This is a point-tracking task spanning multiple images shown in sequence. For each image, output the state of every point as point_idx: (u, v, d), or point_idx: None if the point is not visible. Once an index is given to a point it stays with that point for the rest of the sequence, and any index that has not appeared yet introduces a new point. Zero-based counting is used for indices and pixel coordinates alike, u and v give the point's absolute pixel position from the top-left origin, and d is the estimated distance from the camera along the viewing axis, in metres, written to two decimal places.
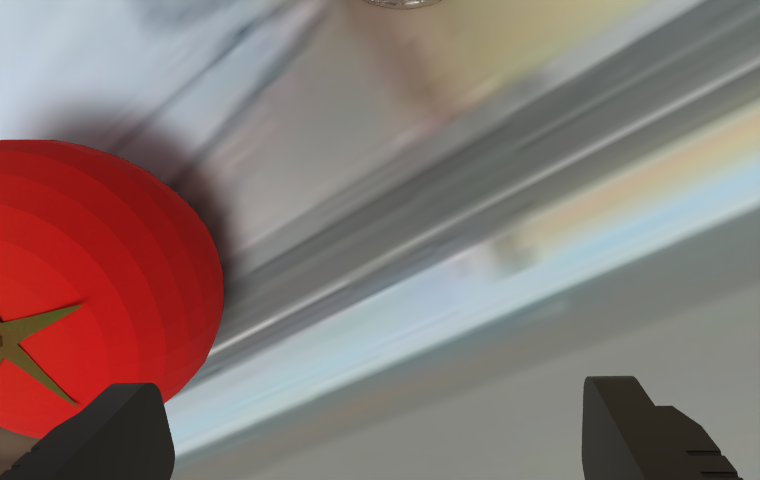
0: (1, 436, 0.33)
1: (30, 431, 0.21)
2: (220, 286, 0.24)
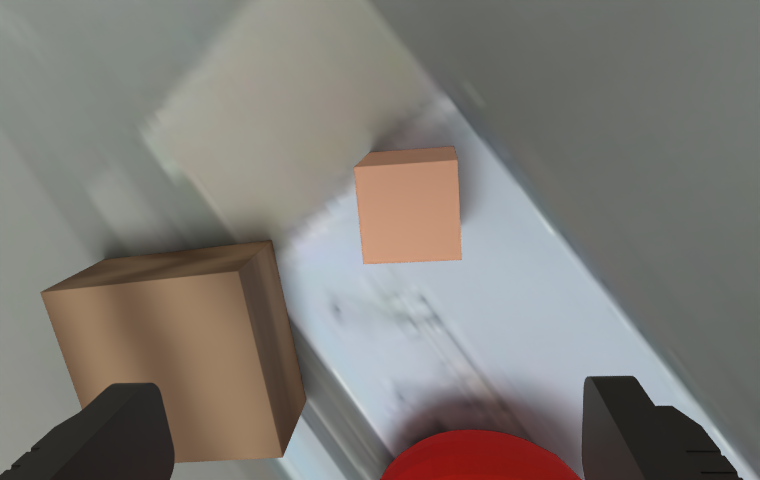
0: (286, 333, 0.33)
1: None
2: None
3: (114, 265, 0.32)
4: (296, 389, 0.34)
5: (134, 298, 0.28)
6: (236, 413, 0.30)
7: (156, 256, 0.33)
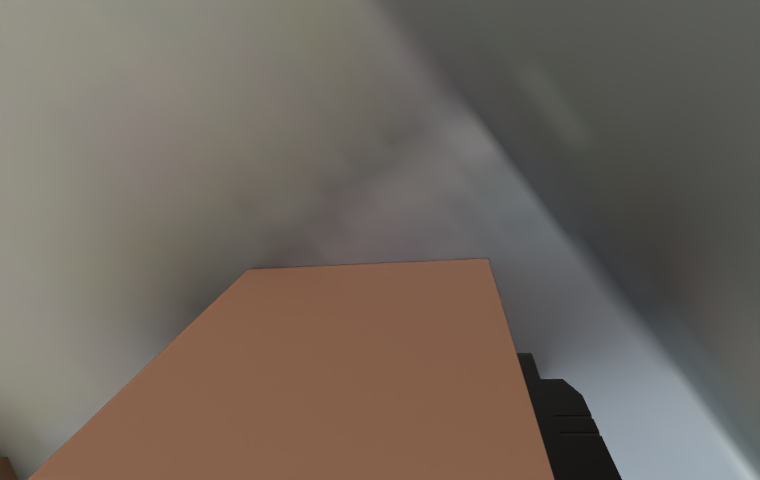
0: None
1: None
2: None
3: None
4: None
5: None
6: None
7: None
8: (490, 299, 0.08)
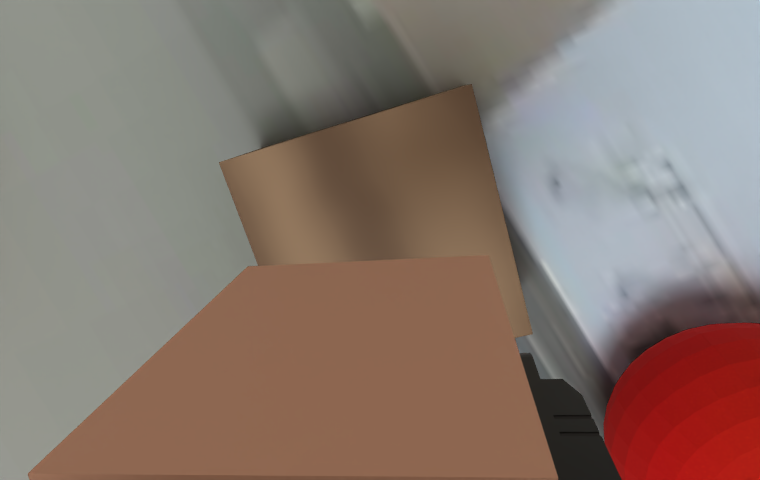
0: None
1: None
2: None
3: (283, 142, 0.27)
4: None
5: (337, 148, 0.23)
6: None
7: None
8: (491, 295, 0.08)
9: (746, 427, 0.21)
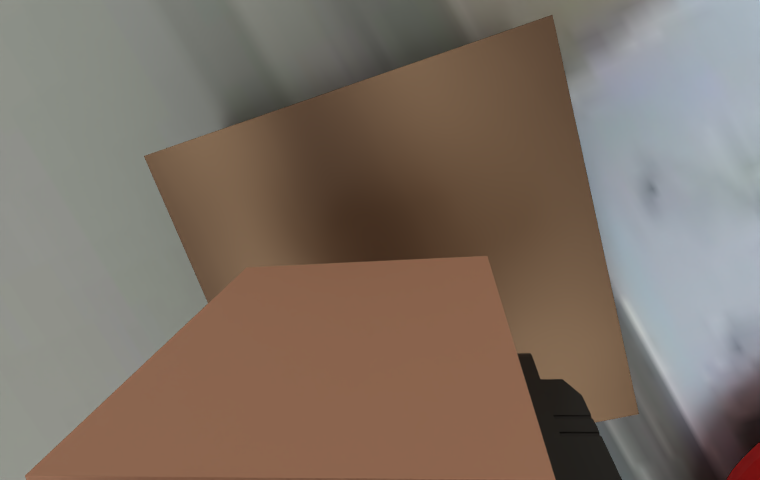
0: None
1: None
2: None
3: None
4: None
5: (329, 129, 0.14)
6: (543, 337, 0.15)
7: None
8: (489, 296, 0.08)
9: None
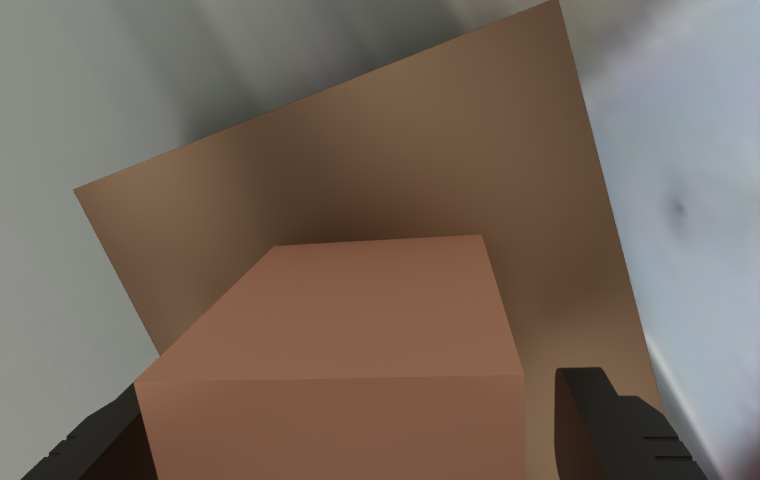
0: None
1: None
2: None
3: None
4: None
5: (290, 149, 0.12)
6: None
7: None
8: (482, 263, 0.10)
9: None
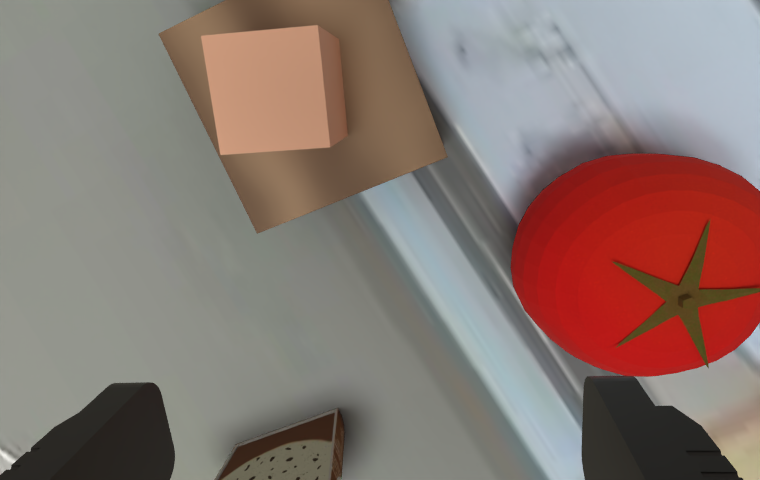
0: None
1: (577, 289, 0.26)
2: None
3: None
4: None
5: (257, 6, 0.26)
6: (388, 116, 0.27)
7: None
8: None
9: (609, 215, 0.25)
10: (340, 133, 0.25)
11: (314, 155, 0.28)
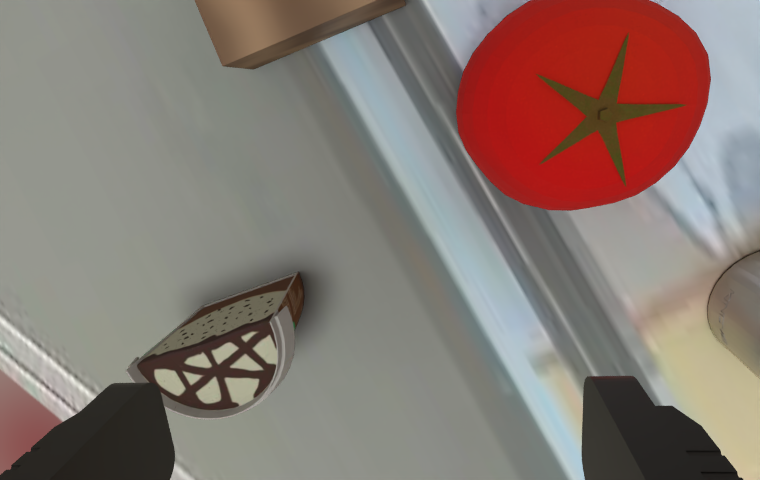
0: None
1: (506, 107, 0.27)
2: None
3: None
4: None
5: None
6: None
7: None
8: None
9: (537, 33, 0.27)
10: None
11: None
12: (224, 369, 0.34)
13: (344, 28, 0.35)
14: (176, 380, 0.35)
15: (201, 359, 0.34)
